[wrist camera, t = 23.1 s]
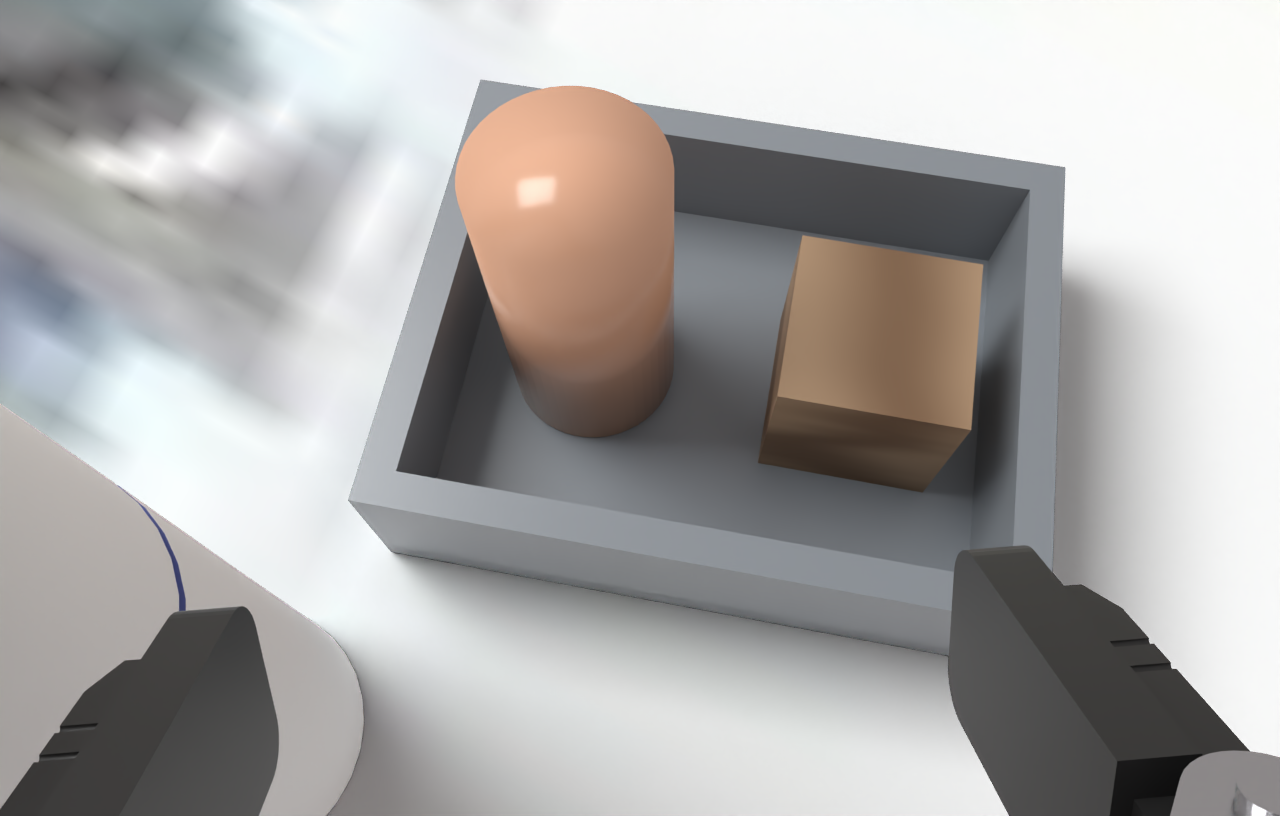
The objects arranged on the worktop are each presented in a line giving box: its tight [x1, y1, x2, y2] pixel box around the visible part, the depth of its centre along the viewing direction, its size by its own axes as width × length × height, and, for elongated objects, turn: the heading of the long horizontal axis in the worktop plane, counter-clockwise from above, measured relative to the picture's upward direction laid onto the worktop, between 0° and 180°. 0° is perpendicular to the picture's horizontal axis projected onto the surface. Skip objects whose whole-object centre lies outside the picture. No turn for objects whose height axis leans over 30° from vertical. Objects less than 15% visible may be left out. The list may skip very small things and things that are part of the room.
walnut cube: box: [758, 235, 983, 493], centre depth 30 cm, size 5×5×5 cm
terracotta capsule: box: [455, 86, 674, 437], centre depth 28 cm, size 5×5×10 cm
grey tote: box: [348, 80, 1065, 656], centre depth 31 cm, size 18×14×5 cm
